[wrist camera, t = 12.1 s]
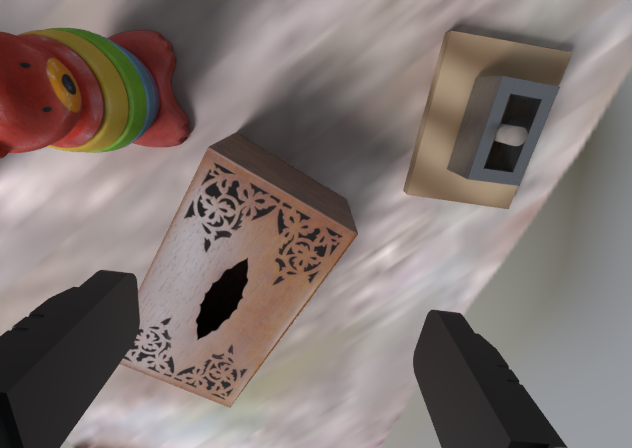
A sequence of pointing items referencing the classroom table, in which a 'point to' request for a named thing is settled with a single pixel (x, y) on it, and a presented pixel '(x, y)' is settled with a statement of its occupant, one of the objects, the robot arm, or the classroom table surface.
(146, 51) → the stacking bear
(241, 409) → the classroom table surface
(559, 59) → the keeper board
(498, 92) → the grey storage bin
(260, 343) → the tissue box cover
